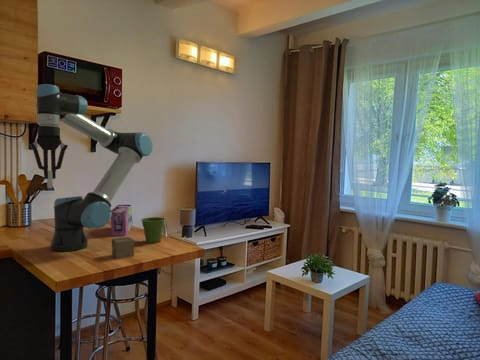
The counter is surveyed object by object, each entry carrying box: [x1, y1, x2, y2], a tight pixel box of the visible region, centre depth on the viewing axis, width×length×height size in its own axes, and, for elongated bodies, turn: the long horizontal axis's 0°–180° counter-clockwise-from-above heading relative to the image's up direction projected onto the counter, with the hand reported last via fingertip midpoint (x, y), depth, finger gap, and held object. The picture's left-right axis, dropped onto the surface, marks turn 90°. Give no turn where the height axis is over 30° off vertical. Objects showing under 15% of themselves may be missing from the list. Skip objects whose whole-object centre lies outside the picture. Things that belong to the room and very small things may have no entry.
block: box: [111, 236, 135, 260], centre depth 146 cm, size 7×7×7 cm
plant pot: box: [140, 216, 166, 244], centre depth 171 cm, size 12×12×11 cm
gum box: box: [110, 204, 132, 237], centre depth 193 cm, size 24×8×14 cm, turn 10°
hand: (50, 187), depth 134 cm, fingers closed
